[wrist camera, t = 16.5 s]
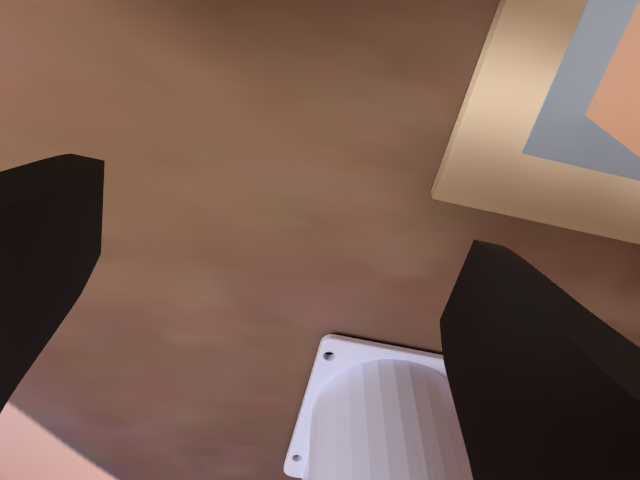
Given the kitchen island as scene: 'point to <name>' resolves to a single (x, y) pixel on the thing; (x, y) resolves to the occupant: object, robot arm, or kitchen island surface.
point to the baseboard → (544, 122)
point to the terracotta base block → (621, 90)
